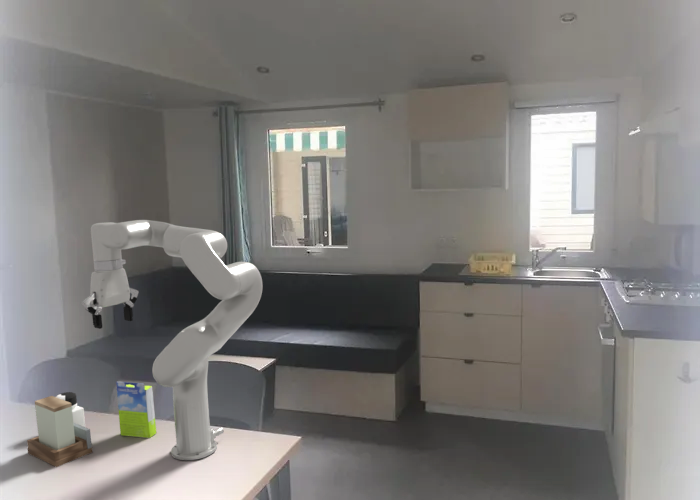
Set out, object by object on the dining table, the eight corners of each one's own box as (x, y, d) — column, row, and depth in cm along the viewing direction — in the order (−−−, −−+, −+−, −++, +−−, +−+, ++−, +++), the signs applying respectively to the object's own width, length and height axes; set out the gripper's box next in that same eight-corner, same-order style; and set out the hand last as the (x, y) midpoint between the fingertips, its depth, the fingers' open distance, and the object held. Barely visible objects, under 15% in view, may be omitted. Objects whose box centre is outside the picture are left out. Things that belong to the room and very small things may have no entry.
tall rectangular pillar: (56, 441, 182) (51, 395, 180) (76, 449, 175) (71, 402, 174) (39, 447, 178) (34, 401, 176) (59, 456, 171) (53, 408, 170)
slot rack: (63, 439, 186) (61, 417, 185) (92, 452, 177) (90, 429, 176) (28, 453, 178) (25, 430, 177) (56, 467, 168) (53, 443, 167)
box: (157, 433, 188) (152, 379, 186) (149, 439, 184) (144, 383, 182) (127, 430, 191) (122, 377, 189) (119, 436, 187) (114, 381, 185)
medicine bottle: (73, 424, 198) (70, 388, 196) (86, 429, 194) (82, 392, 192) (52, 432, 192) (48, 395, 191) (64, 437, 188) (60, 399, 186)
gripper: (127, 260, 184) (132, 316, 186) (72, 269, 170) (78, 329, 173) (142, 262, 180) (147, 319, 182) (87, 271, 166) (93, 332, 168)
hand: (113, 324), depth 177 cm, fingers open, 9 cm apart
